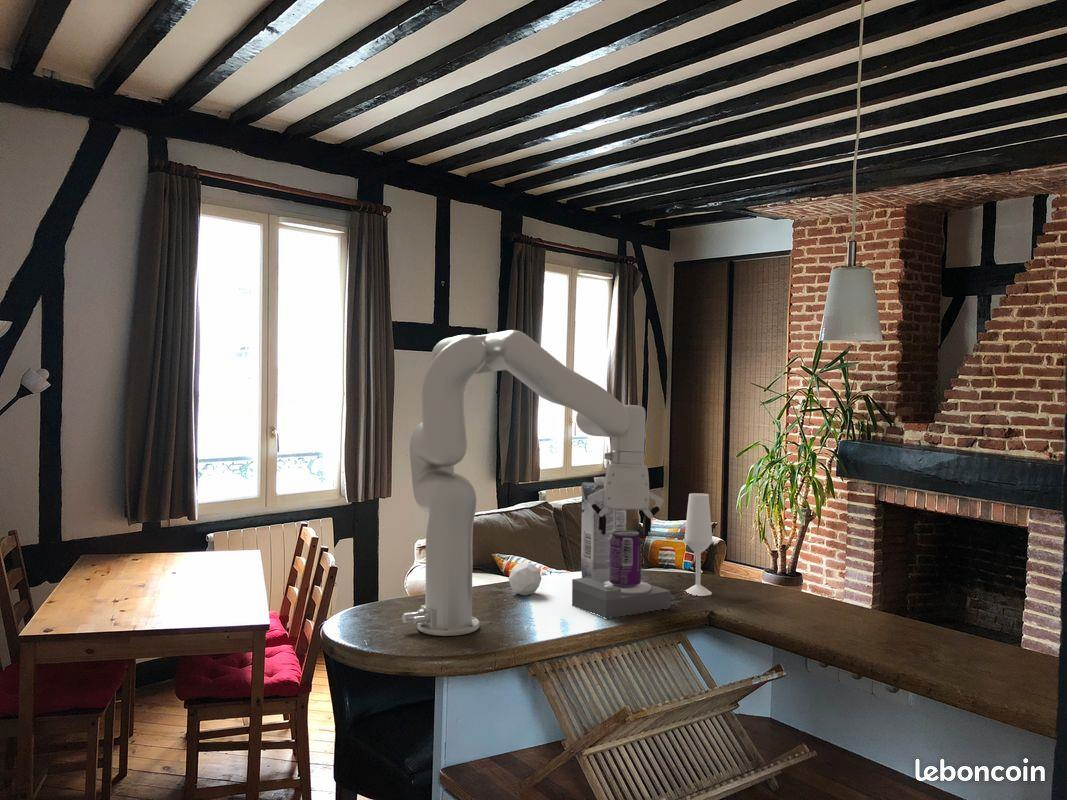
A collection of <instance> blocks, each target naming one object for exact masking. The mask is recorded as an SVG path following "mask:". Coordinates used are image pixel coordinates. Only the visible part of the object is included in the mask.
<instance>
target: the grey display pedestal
mask: <svg viewBox="0 0 1067 800" xmlns="http://www.w3.org/2000/svg"><path fill="white" fill-rule="evenodd" d="M571 584H572V585H571V586H572V587H571V591H572V592H571V593H572V594H571V606H572V607H574V606H575V608H577V607H578V608H577V609H579V608H580V610H582V609H583V610H582V611H584V610H586V611H585V612H587V611H589V612H592V613H595V614H598V615H600V616H602V617H605V618H610V617H617V618H619V617H618V616H623V617H627V616H626V615H629V616H633V615H632V614H635V615H638V614H637V613H641V612H646V611H651V610H659V609H664V608H670V607H671V604H672V603H671V600H672V595H671V594H672V590H669V589H665V588H662V587H660V586H656V585H653V584H650V583H649V582H648V583H647V582H645V581H642V580H641V583H640V584H638V585H636V586H635V587H627V588H625V587H618V586H615V585H614V584H612V583H610V581H607V582H604V583H602V582H599V581H596V580H593V579H590V578H587V577H586V578H582V577H581V578H580V577H579V578H573V579H571ZM659 611H660V610H659ZM589 612H588V613H589ZM592 613H591V614H592ZM641 614H642V613H641Z"/></svg>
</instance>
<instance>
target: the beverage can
mask: <svg viewBox="0 0 1067 800" xmlns="http://www.w3.org/2000/svg"><path fill="white" fill-rule="evenodd" d="M641 574H642V540H641V537H640V532H639V531H636V530H629V529H628V530H627V529H626V530H618V531H613V532H612V536H611V538H610V572H609V581H610V583H612V584H614V585H615V586H618V587H625V588H627V587H635V586H636V585H638V584H640V583H641V581H642V580H641V579H642V578H641V577H642V575H641Z"/></svg>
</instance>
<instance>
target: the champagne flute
mask: <svg viewBox="0 0 1067 800" xmlns="http://www.w3.org/2000/svg"><path fill="white" fill-rule="evenodd" d="M712 529H713V528H712V518H711V506H710V494H708V493H695V492H694V493H693V492H692V493H689V494H688V502H687V511H686V521H685V529H684V530H685V531H684V541H685V544H687V546H688V547H689V549H691V550H692V551H693V552H694V553H695V584H694V585H692V586H691V587H689V588H687V589H686V590H684V591H686V592H687V593H689V594H692V595H691V596H696V595H697V597H698V596H700V597H703V596H704V597H705V596H711V595H712V591H710V590H709V589H707V587H705V586H703V585H701V576H702V575H701V574H702V573H701V571H702V570H701V567H702V566H701V564H702V563H701V561H702V560H701V558H702V557H701V556H702V555H701V554H702V553H704V552H705V551H706V550H707V549H708V548H709V547H710V545H712V542H713V530H712ZM689 594H688V595H689Z"/></svg>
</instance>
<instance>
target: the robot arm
mask: <svg viewBox="0 0 1067 800" xmlns="http://www.w3.org/2000/svg"><path fill="white" fill-rule="evenodd" d="M430 359H431V363H430V365H429V366H428V369H427V371H426V373H425V375H424V378H423V381H422V386H421V387H422V388H421V416H422V417H421V419H422V421H421V423H419V424H418V425H417V426H416V427H415V428H414V429H413V431H412V433H411V436H410V439H409V440H410V441H409V456H410V457H409V458H410V460H409V461H410V469H411V473H410V474H411V481H412V482H411V483H412V490H413V496H414V497H413V498H414V500H415V501H416V504H417V505H418V506H419V508H421V510H423V511H425V513H428V514H429V515H428V521H427V527H426V533H425V588H424V589H425V594H424V595H425V596H424V597H425V600H424V601H425V603H424V604H421V605H420V609H417V610H416V611H410V612H409V611H408V612H403V613H402V615H401V619H402V623H403V624H405V623H406V624H407V623H413V624H414V625H417V630H418V631H419V632H421V633H423V634H427V635H432V636H440V637H441V636H442V637H449V636H451V637H452V636H462V635H467V634H471V633H474V632H475V631H477V630H478V629H479V628H480V620H479V619H478V618H477V617H475V616H473V535H474V523H475V516H476V510H477V509H476V508H477V494H476V490H475V488H474V486H473V484H472V483H471V482H470V480H469V479H467V478H466V477H464V476H463V475H461V474H458V473H455V468H454V466H456V465H458V464H459V463H461V462H462V461H463V460H464V458H465V456H466V453H467V450H468V449H467V448H468V442H467V441H468V439H467V433H466V432H467V431H466V421H465V420H466V419H465V408H464V407H465V406H464V405H465V403H464V402H465V400H464V398H465V397H464V396H465V390H466V387H467V385H468V382H469V381H470V379H471V378H472V377H473V376H474V375H480V374H486V373H493V372H498V371H499V372H500V371H507V372H509V373H510V374H511V375H513V376H514V377H515V378H516V379H517V380H519V381H520V382H522V383H523V384H524V385H525V386H526V387H528V388H529V389H530V390H532V391H533V392H534V393H535V394H536V395H538V396H539V397H540V398H542V399H544V400H545V401H546V400H547V401H548V402H551V403H553V404H556V405H560V406H563V407H566V408H569V409H571V410H573V411H575V412H576V413H577V414H576V425H577V427H578V428H579V430H580V431H581V432H583V433H584V434H586V435H588V436H592V437H593V436H594V437H606V438H610V439H611V442H610V444H611V445H610V451H609V452H607V453H606V452H604V455H603V458H604V460H608V461H609V462H610V464H609V463H608V464H607V466H606V470H605V476H604V477H605V481H604V489H602V490H600V491H597V492H595V493H593V494H591V495H589V496H588V500H589V502H590V504H591V507H592V508H593V509H594V511H595V512H596V513H597V514H598V515H599V530H601V533H602V534H603V535H605V534H606V517H605V514H606V512H607V511H608V510H609V509H618V510H626V511H642V512H643V514H644V517H643V519H642V520H643V521H642V525H643V526H642V535H644V536H645V537H649V533H651V531H652V530H651V529H652V518H653V517H654V516H655V515H656V514H658V512H659V511H660V509H661V508H662V505H663V504H664V502H665V500H664V499H663V498H662V497H660V496H659V495H657V494H655V493H653V492H652V491H650V481H649V479H650V477H649V470H648V466H647V465H645V464H644V461H645V442H646V441H645V437H646V410H645V409H646V408H645V407H644V406H641V405H636V404H635V405H634V404H623V403H622V402H620V401H619V400H618V399H617V398H616V397H615V396H613V395H612V394H611V392H609V391H607V390H606V389H605V388H604V387H602V386H601V385H598V384H597V383H595V382H594V381H592V380H590V379H588V378H586V377H585V376H583V375H581V374H580V373H578V372H576V371H574V370H572V369H570V368H569V367H567V366H566V365H564V364H563V363H562V362H560V361H559V360H558V359H557V358H555V356H553V355H552V354H551V353H550V352H548V351H547V350H546V349H544V347H542V346H541V345H540V344H538V343H537V342H536V341H534V339H532V338H531V337H530V336H528V335H527V334H526V333H524V332H523V331H521V330H516V329H509V330H508V329H507V330H503V331H498V332H494V333H493V332H492V333H487V334H481V335H479V334H478V335H473V334H460V335H455V336H452V337H446V338H444V339H442V340H439V342H437V343H436V345H435V346H434V347H433V349H432V351H431V358H430ZM601 496H603V503H604V505H603V506H602V507H601V508H599V507H598V506H597V504H596V502H595V499H597V498H599V497H601ZM650 499H652V500H653V501H654V502H655V504H654V506H653V507H652V508H651V509H649V506H650Z"/></svg>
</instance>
